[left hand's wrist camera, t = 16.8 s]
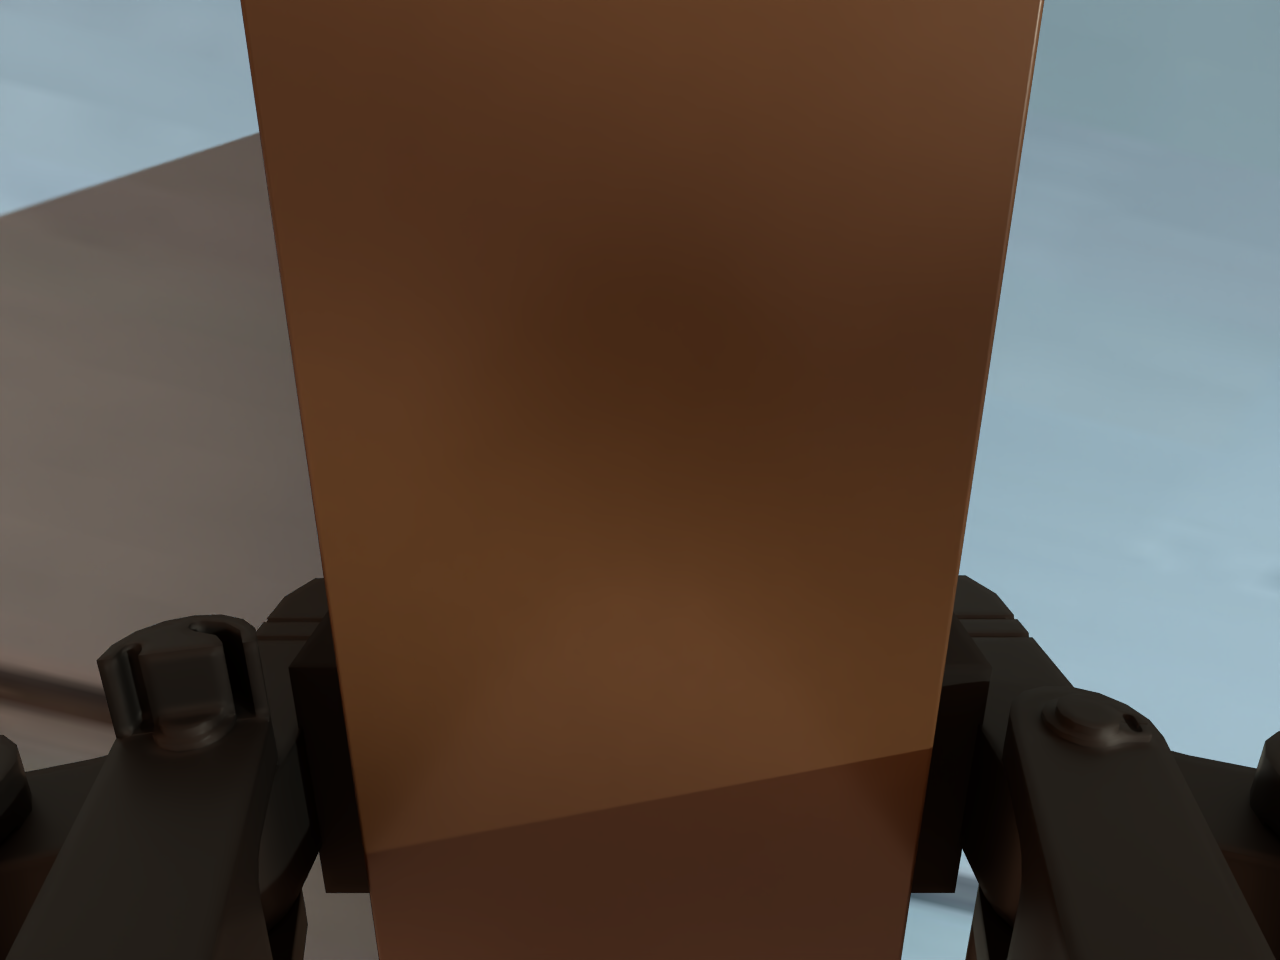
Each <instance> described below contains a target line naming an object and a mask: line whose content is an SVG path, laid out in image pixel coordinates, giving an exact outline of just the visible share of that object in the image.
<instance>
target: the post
mask: <svg viewBox="0 0 1280 960" xmlns="http://www.w3.org/2000/svg"><path fill="white" fill-rule="evenodd" d="M240 1H241V8H242V15H243V21H244V28H245V35H246V42H247V49H248V56H249V63H250V70H251V77H252V84H253V91H254V98H255V104H256V111H257V118H258V125H259V132H260V139H261V146H262V153H263V160H264V167H265V174H266V181H267V188H268V194H269V201H270V208H271V215H272V222H273V229H274V236H275V243H276V250H277V257H278V264H279V271H280V277H281V284H282V291H283V298H284V305H285V312H286V319H287V326H288V333H289V340H290V347H291V354H292V361H293V367H294V374H295V381H296V388H297V395H298V402H299V409H300V416H301V423H302V430H303V437H304V444H305V450H306V457H307V464H308V471H309V478H310V485H311V492H312V499H313V506H314V513H315V520H316V527H317V534H318V540H319V547H320V554H321V561H322V568H323V575H324V582H325V589H326V596H327V603H328V610H329V617H330V623H331V630H332V637H333V644H334V651H335V658H336V665H337V672H338V679H339V686H340V693H341V700H342V707H343V713H344V720H345V727H346V734H347V741H348V748H349V755H350V762H351V769H352V776H353V783H354V790H355V797H356V803H357V810H358V817H359V824H360V831H361V838H362V845H363V852H364V859H365V866H366V873H367V880H368V886H369V893H370V900H371V907H372V914H373V921H374V928H375V935H376V942H377V949H378V956H379V960H901V956H902V949H903V943H904V936H905V929H906V922H907V916H908V909H909V902H910V896H911V889H912V882H913V876H914V869H915V862H916V856H917V849H918V842H919V835H920V829H921V822H922V815H923V809H924V802H925V795H926V789H927V782H928V775H929V769H930V762H931V755H932V748H933V742H934V735H935V728H936V722H937V715H938V708H939V702H940V695H941V688H942V681H943V675H944V668H945V661H946V655H947V648H948V641H949V635H950V628H951V621H952V615H953V608H954V601H955V594H956V588H957V581H958V574H959V568H960V561H961V554H962V548H963V541H964V534H965V527H966V521H967V514H968V507H969V501H970V494H971V487H972V481H973V474H974V467H975V461H976V454H977V447H978V440H979V434H980V427H981V420H982V414H983V407H984V400H985V394H986V387H987V380H988V374H989V367H990V360H991V353H992V347H993V340H994V333H995V327H996V320H997V313H998V307H999V300H1000V293H1001V286H1002V280H1003V273H1004V266H1005V260H1006V253H1007V246H1008V240H1009V233H1010V226H1011V220H1012V213H1013V206H1014V199H1015V193H1016V186H1017V179H1018V173H1019V166H1020V159H1021V153H1022V146H1023V139H1024V132H1025V126H1026V119H1027V112H1028V106H1029V99H1030V92H1031V86H1032V79H1033V72H1034V66H1035V59H1036V52H1037V45H1038V39H1039V32H1040V25H1041V19H1042V12H1043V5H1044V0H240Z"/></svg>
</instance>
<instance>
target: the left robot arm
mask: <svg viewBox="0 0 1280 960" xmlns="http://www.w3.org/2000/svg"><path fill="white" fill-rule="evenodd" d="M97 664H98V668H99V672H100V676H101V680H102V684H103V687H104V691H105V695H106V699H107V703H108V707H109V711H110V715H111V719H112V722H113V726H114V730H115V734H116V740H115V742H114V744H113V746H112V748H111V750H110V752H109V754H108V755H106V756H103V757H99V758H95V759H90V760H85V761H80V762H75V763H70V764H65V765H60V766H54V767H49V768H44V769H39V770H34V771H29V772H25V771H24V767H23V764H22V761H21V758H20V754H19V751H18V748H17V745H16V744H15V743H13V742H12V741H11V740H9V739H8V738H7V737H5V736H4V735H0V960H303V958H304V950H305V942H306V934H307V926H308V923H307V916H306V909H305V903H304V898H303V892H302V887H303V885H304V882H305V880H306V878H307V876H308V874H309V872H310V870H311V867H312V865H313V863H314V861H315V859H316V857H317V855H318V852H319V854H320V860H321V866H322V872H323V878H324V884H325V890H326V893H369V886H368V880H367V873H366V866H365V859H364V852H363V845H362V838H361V831H360V824H359V817H358V810H357V803H356V797H355V790H354V783H353V776H352V769H351V762H350V755H349V748H348V741H347V734H346V727H345V720H344V713H343V707H342V700H341V693H340V686H339V679H338V672H337V665H336V658H335V651H334V644H333V637H332V630H331V623H330V617H329V610H328V603H327V596H326V589H325V582H324V578H315V579H313V580H312V581H310V582H308V583H307V584H305V585H303V586H302V587H300V588H298V589H297V590H295V591H293V592H292V593H290V594H288V595H287V596H285V597H284V598H283V600H282V601H281V602H280V603H279V604H278V606H277V607H276V608H275V609H274V611H273V612H272V613H271V614H270V615H269V617H268V618H267V622H264V623H263V624H262V625H261V626H260V628H259V629H258V630H257V631H256V630H255V628H254V627H253V626H252V625H250V624H249V623H248V622H246V621H245V620H243V619H240V618H235V617H230V616H226V615H194V616H189V617H184V618H179V619H174V620H169V621H164V622H161V623H159V624H156V625H153V626H150V627H147V628H144V629H142V630H139V631H136V632H134V633H132V634H131V635H129V636H127V637H125V638H124V639H122V640H120V641H118V642H117V643H115V644H113V645H112V646H111V647H110V648H109V649H108V650H107V651H106V652H105V653H104V654H103V655H102V656H101V657H100V658H99V659H98V660H97ZM962 849H963V851H964V853H965V855H966V857H967V860H968V862H969V864H970V866H971V868H972V870H973V872H974V874H975V877H976V879H977V881H978V883H979V886H978V892H977V898H976V903H975V909H974V914H973V920H972V925H971V931H970V937H969V942H968V948H967V953H966V959H965V960H1280V731H1278V732H1277V733H1276V734H1274V735H1273V736H1271V737H1270V738H1269V739H1267V740H1266V741H1265V744H1264V747H1263V751H1262V754H1261V757H1260V760H1259V764H1258V767H1257V769H1256V768H1251V767H1246V766H1241V765H1236V764H1231V763H1225V762H1220V761H1215V760H1210V759H1205V758H1200V757H1195V756H1189V755H1185V754H1182V753H1178V752H1174V751H1170V749H1169V747H1168V745H1167V743H1166V741H1165V739H1164V737H1163V736H1162V734H1161V733H1160V732H1159V731H1158V730H1157V728H1156V727H1155V726H1154V725H1153V723H1152V722H1151V721H1150V720H1149V719H1147V718H1146V717H1144V716H1143V715H1141V714H1140V713H1138V712H1137V711H1136V710H1134V709H1133V708H1131V707H1130V706H1128V705H1126V704H1124V703H1122V702H1119V701H1117V700H1114V699H1112V698H1110V697H1107V696H1105V695H1102V694H1100V693H1096V692H1092V691H1087V690H1083V689H1079V688H1074V687H1073V686H1072V684H1071V683H1070V682H1069V681H1068V680H1067V678H1066V677H1065V676H1064V675H1063V674H1062V672H1061V671H1060V670H1059V669H1058V668H1057V666H1056V665H1055V664H1054V663H1053V662H1052V660H1051V659H1050V658H1049V657H1048V656H1047V654H1046V653H1045V652H1044V651H1043V650H1042V648H1041V647H1040V646H1039V645H1038V643H1037V642H1036V641H1035V640H1034V639H1033V637H1029V633H1028V631H1027V630H1026V629H1025V628H1024V627H1023V625H1022V624H1021V623H1020V622H1019V621H1018V619H1014V615H1013V613H1012V612H1011V611H1010V610H1009V609H1008V607H1007V606H1006V605H1005V604H1004V603H1003V601H1002V600H1001V599H1000V598H999V597H998V595H997V594H996V593H994V592H992V591H991V590H989V589H987V588H986V587H984V586H982V585H981V584H979V583H977V582H976V581H974V580H972V579H971V578H969V577H967V576H966V575H958V581H957V588H956V594H955V601H954V608H953V615H952V621H951V628H950V635H949V641H948V648H947V655H946V661H945V668H944V675H943V681H942V688H941V695H940V702H939V708H938V715H937V722H936V728H935V735H934V742H933V748H932V755H931V762H930V769H929V775H928V782H927V789H926V795H925V802H924V809H923V815H922V822H921V829H920V835H919V842H918V849H917V856H916V862H915V869H914V876H913V882H912V889H911V893H955V888H956V882H957V876H958V870H959V864H960V858H961V852H962Z"/></svg>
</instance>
